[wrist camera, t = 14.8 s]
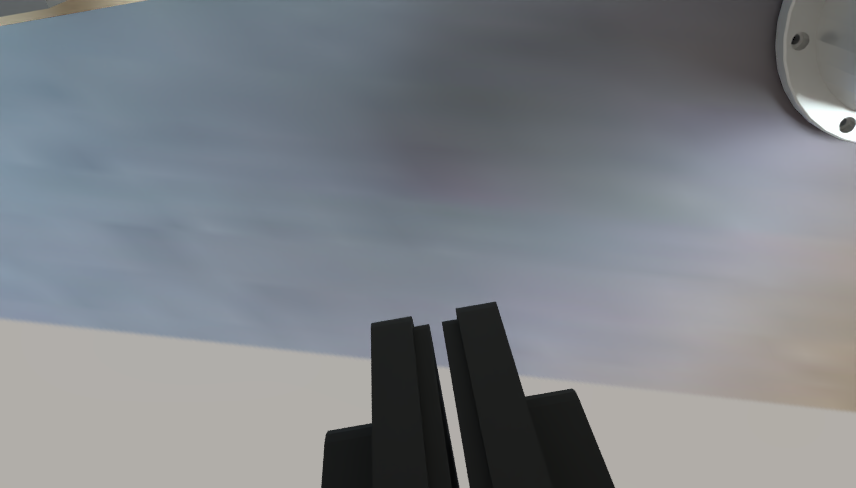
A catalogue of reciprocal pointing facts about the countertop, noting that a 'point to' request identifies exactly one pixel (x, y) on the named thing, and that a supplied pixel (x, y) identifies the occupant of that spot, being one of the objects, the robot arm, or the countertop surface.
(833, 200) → the countertop surface
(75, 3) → the mounting board
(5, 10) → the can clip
